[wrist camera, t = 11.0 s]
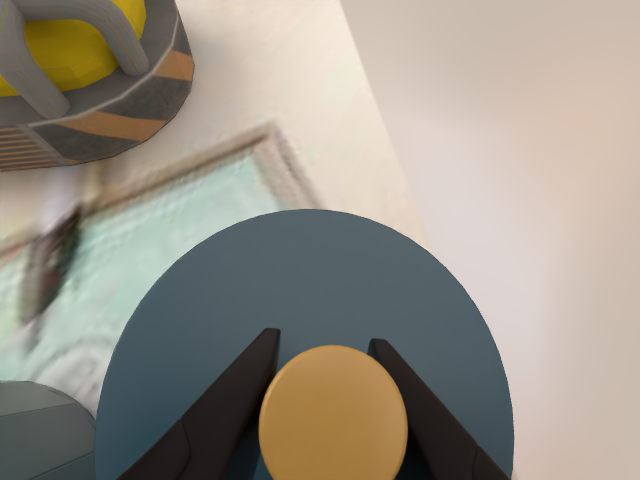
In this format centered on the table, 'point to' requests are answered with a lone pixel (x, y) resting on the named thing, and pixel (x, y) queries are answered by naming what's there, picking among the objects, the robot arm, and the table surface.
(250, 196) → the table surface
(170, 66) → the cage light
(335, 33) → the table surface
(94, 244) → the table surface
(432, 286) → the lid
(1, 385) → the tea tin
